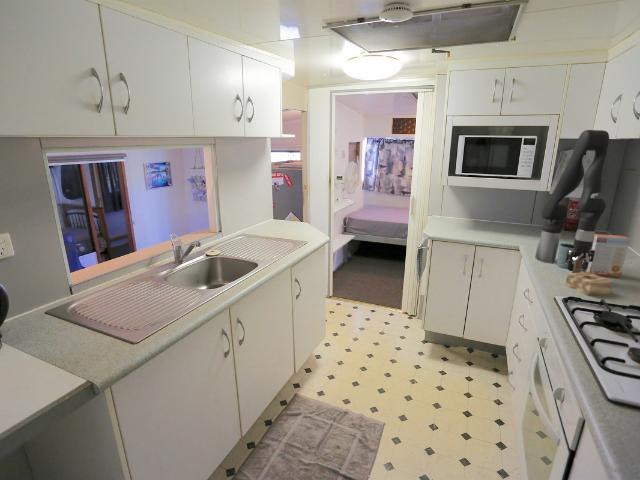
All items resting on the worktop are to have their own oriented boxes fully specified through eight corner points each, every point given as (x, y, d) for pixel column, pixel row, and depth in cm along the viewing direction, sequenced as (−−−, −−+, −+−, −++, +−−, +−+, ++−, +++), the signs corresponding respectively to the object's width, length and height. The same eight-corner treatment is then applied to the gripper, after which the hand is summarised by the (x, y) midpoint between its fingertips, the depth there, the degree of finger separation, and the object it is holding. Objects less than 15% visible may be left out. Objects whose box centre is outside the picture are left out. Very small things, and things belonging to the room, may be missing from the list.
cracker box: (615, 274, 188) (625, 235, 182) (620, 278, 183) (631, 238, 177) (583, 270, 192) (593, 232, 186) (588, 274, 187) (597, 235, 181)
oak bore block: (565, 285, 172) (567, 273, 171) (585, 283, 175) (588, 272, 173) (587, 295, 161) (591, 283, 159) (609, 293, 164) (612, 281, 162)
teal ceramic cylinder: (552, 266, 198) (556, 245, 195) (558, 262, 205) (563, 242, 201) (573, 271, 191) (578, 249, 188) (579, 267, 197) (584, 246, 194)
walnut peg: (569, 277, 183) (574, 256, 180) (574, 276, 183) (579, 256, 180) (575, 279, 180) (579, 258, 177) (580, 279, 180) (585, 258, 177)
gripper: (589, 236, 181) (582, 266, 185) (565, 237, 178) (558, 268, 182) (603, 240, 174) (595, 272, 178) (578, 241, 171) (571, 273, 175)
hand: (577, 270), depth 180 cm, fingers open, 8 cm apart
